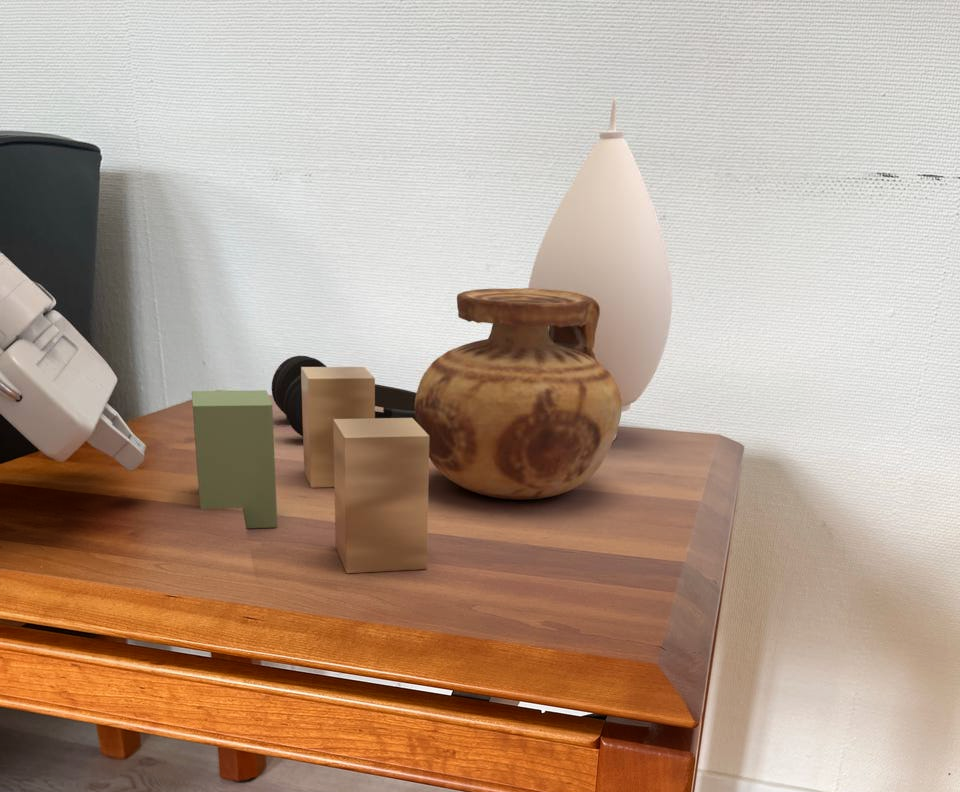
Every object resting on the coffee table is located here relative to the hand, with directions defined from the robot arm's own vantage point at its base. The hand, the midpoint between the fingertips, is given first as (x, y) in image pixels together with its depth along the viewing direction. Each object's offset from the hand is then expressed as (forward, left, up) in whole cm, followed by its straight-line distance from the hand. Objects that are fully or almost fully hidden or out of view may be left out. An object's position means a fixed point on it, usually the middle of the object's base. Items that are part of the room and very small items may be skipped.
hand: (140, 460), depth 81 cm
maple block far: (+17, +12, -5) cm, 22 cm away
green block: (+7, 0, -5) cm, 9 cm away
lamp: (+48, +27, -5) cm, 56 cm away
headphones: (+23, +33, -5) cm, 41 cm away
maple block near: (+17, -11, -5) cm, 21 cm away
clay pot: (+33, +7, -5) cm, 34 cm away
